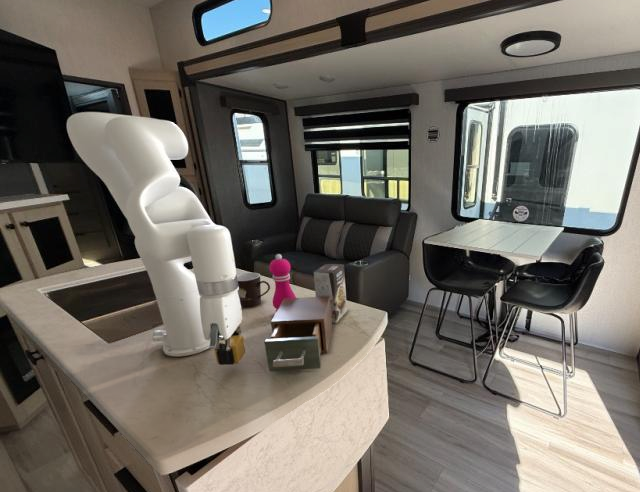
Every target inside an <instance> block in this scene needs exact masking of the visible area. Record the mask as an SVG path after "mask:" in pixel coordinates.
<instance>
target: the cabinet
mask: <svg viewBox="0 0 640 492" xmlns="http://www.w3.org/2000/svg"><path fill="white" fill-rule="evenodd" d="M276 310H277V309H276ZM311 322H321V327H322V338H323V344H322V349H321V353H320V354H327V353H328V349H329V345H330V339H331V335H332V329H333V323H332V318H331V306H330V296H328V297H316V296H309V297H306V296H305V297H304V296H303V297H296V298H285V299H284V300H283V302H282V304H281V305H280V307H279V309H278V310H277V312H276V311H275V313H274V315H273V317H272V319H271V320H270V326H271V332H272V334H273V332H274V330H275V328H276V326H277V324H291V323H311Z"/></svg>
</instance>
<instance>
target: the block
mask: <svg viewBox="0 0 640 492" xmlns="http://www.w3.org/2000/svg"><path fill="white" fill-rule="evenodd" d="M219 343H223V344H225V340H219ZM230 348H232V349H233V355H234V360H235V363H234V364H239V363H240V362H241V360H242V358H243V357H244V355H245V353H246V346H245V341H244V335H241V336H230ZM213 350H214V354H215V359H216V364H217V365H220V364H219V362H218V357H217V352H216V351H215V349H213Z"/></svg>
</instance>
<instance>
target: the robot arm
mask: <svg viewBox="0 0 640 492" xmlns="http://www.w3.org/2000/svg"><path fill="white" fill-rule="evenodd" d="M66 132H67V134H68V138H69V140H70V142H71V145H72V146H73V148H74V150H75V151H76V154H77V155H78V156H79V157H80V158H81V160H82V161H83V162H84V163H85V164H86V166H87V167H88V168H89V169H90V170H91V171H92V172H93V173H94V174H95V175H96V176H98V177H99V178H100V180H101V181H102V182H103V183H104V185H105V186H106V188H107V189H108V191H109V193H110V194H111V196H112V198H113V199H114V201H115V202H116V204H117V206H118V208H119V209H120V211H121V212H122V214H123V216H124V217H125V219H126V220H127V223H128V225H129V229H130V230H131V232H132V234H133V236H134V237H135V238H134V245H135V249H136V251H137V254H138V256H139V258H140V259H141V261H142V264H143V266H144V268H145V270H146V272H147V274H148V275H147V276H148V277H149V280H150V283H151V286H152V290H153V293H154V295H155V299H156V303H157V307H158V311H159V314H160V317H161V321H162V324H163V327H164V329H162V330H161V329H160V330H154V331H153V332H152V341H153V342H163V344H162V345H163V346H162V351H163V353H164V354H165V355H166V356H168V357H175V358H176V357H187V356H192V355H196V354H199V353H201V352H204V351H207V350H209V349H210V350H211V349H212V350H214V349H215V350H214V352H215V351H216V352H217V357H218V362H219V364H218V365H220V366H229V365H234V364H236V363H235V360H234V355H233V349H232V348H230V336H242V335H241V334H242V330H241V323H242V321H243V311H242V307H241V304H240V299H239V295H238V290H239V286H238V280H237V275H238V274H237V268H236V267H237V266H236V261H235V256H234V255H235V254H234V250H233V249H234V248H233V243H232V236H231V232H230V230H229V228H227V227H226V226H223V225H220V224H216V223H214V222H213V221H212V219H211V216H210V215H209V214H208V212H207V210H206V209H205V208H204V205H203V203H202V202H201V201H200V200H199V197H198V196H197V195H196V194H195V193H194V192H193V191H192V190H190V188H189V189H188V188H187V187H184V186H180V183H181V177H180V174H179V172H178V171H177V169H176V167H175V166H174V165H173V162H172V161H171V160H183V159H185V158H186V157H187V156H188V153H189V143H188V140H187V137H186V135H185V134H184V132H183V130H182V129H181V128H180V127H179V126H178V125H177V124H175V122H172V121H170V120H166V119H158V118H154V117H147V116H138V115H137V116H136V115H127V114H118V113H111V112H101V111H84V112H83V111H81V112H77V113H74V114H72V115H70V116H69V117H68V118H67V120H66ZM190 262H191V263H192V268H193V271H191V270H190V269H188V268H187V267H186V266H184V265H185V264H187V263H190ZM219 340H225V344H223V343H219Z"/></svg>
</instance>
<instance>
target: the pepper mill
mask: <svg viewBox="0 0 640 492" xmlns="http://www.w3.org/2000/svg"><path fill="white" fill-rule="evenodd" d="M290 271H291V264H290V262H289V260H287V259H285V258H283V256H282V254H280V253H276V255H275V259H272V261H271V262H270V263H269V272H270V273H271V274H272V280H273V282H274V284H275V285H274V286H275V287H274V292H273V293H274V294H273V297H272V306H273V308H274V309H275V313H276V312H277V310H278V309H279V307H280V305H281V304H282V302H283V300H284V299H285V298H297V296H296V294H295V293H294V291H293V290H292V287H291V284H290V279H291V274H290Z"/></svg>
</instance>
